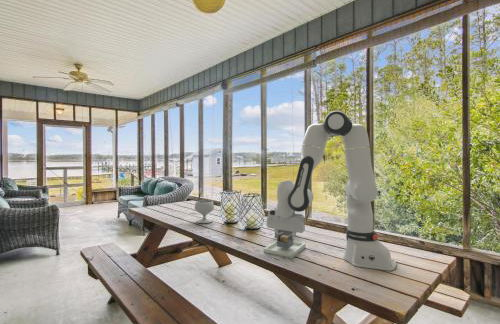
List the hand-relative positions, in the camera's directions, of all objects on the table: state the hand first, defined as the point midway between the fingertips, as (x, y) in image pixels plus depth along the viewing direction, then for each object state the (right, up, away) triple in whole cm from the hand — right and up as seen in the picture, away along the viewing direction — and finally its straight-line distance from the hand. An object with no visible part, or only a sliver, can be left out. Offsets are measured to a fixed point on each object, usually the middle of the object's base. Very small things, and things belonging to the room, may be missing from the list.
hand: (285, 238), depth 142 cm
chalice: (-52, -5, +60) cm, 79 cm away
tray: (0, -6, 0) cm, 6 cm away
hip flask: (+3, -6, +26) cm, 27 cm away
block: (0, -3, 0) cm, 3 cm away
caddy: (0, -4, 0) cm, 4 cm away
